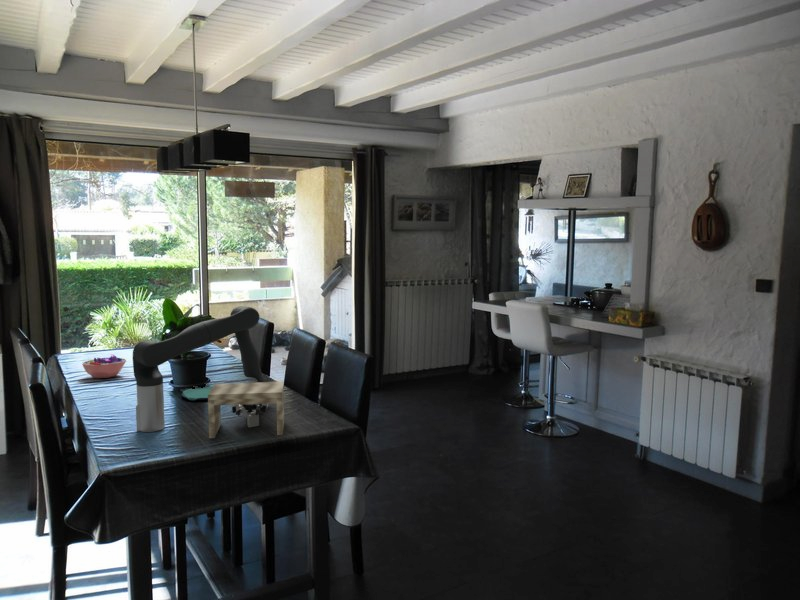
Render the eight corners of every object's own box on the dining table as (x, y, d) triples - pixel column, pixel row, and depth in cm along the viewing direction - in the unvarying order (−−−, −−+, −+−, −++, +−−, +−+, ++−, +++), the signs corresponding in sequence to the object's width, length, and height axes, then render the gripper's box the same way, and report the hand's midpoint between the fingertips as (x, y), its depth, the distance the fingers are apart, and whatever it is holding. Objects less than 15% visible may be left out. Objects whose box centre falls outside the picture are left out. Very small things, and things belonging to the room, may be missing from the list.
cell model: (83, 375, 314) (82, 353, 313) (126, 371, 322) (125, 350, 321) (82, 382, 299) (81, 360, 297) (127, 379, 307) (126, 356, 306)
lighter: (257, 424, 235) (257, 403, 234) (259, 425, 233) (259, 405, 232) (239, 427, 230) (239, 406, 229) (241, 428, 229) (241, 408, 228)
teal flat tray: (186, 405, 263) (186, 399, 263) (173, 389, 289) (173, 384, 289) (232, 399, 274) (232, 393, 273) (215, 384, 299) (215, 379, 299)
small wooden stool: (209, 438, 220) (207, 394, 219) (215, 424, 236) (214, 383, 234) (282, 434, 224) (282, 392, 223) (284, 421, 240) (283, 381, 238)
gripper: (232, 391, 244) (227, 403, 227) (269, 390, 246) (267, 402, 229) (233, 410, 245) (228, 423, 228) (270, 408, 247) (267, 421, 230)
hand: (247, 412), depth 229 cm, fingers closed on lighter, 6 cm apart
